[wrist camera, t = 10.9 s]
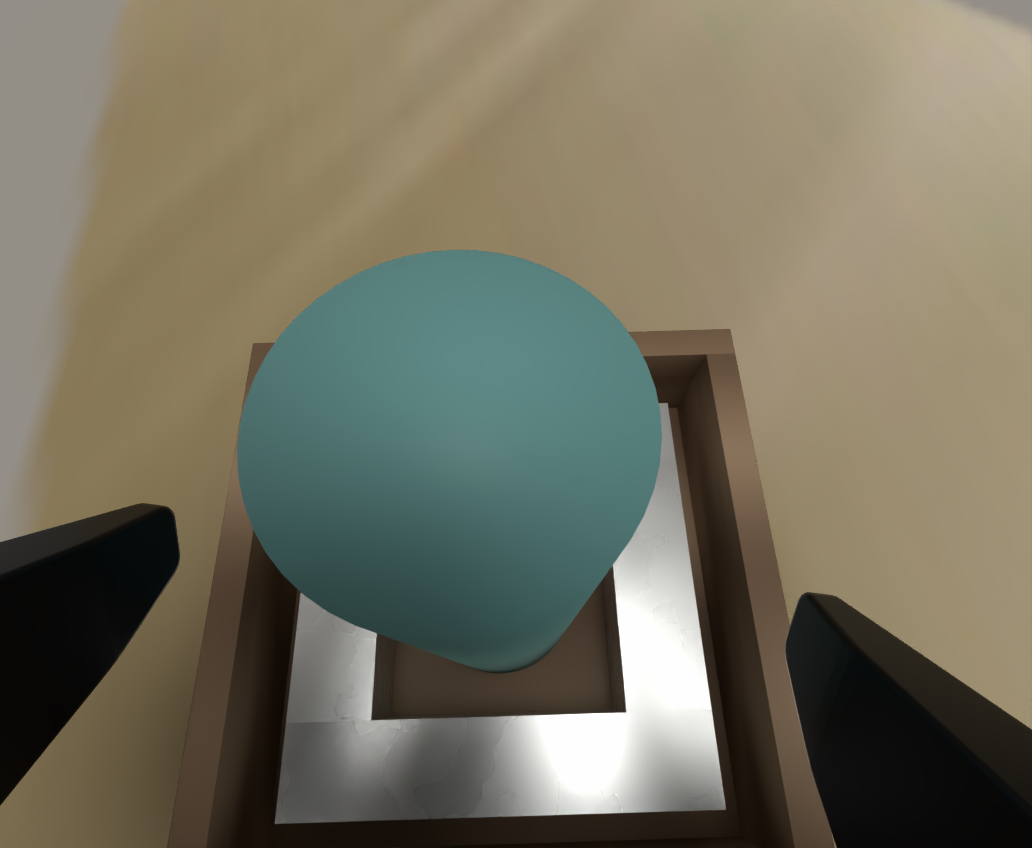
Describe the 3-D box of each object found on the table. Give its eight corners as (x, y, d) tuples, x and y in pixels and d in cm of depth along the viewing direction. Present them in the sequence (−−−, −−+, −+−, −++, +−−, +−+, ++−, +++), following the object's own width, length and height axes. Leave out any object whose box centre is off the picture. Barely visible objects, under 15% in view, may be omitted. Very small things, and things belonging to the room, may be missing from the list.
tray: (764, 863, 16) (850, 924, 12) (247, 879, 16) (150, 946, 12) (690, 398, 21) (729, 328, 17) (305, 410, 21) (253, 343, 17)
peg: (573, 671, 17) (690, 633, 5) (430, 675, 17) (203, 649, 5) (564, 530, 18) (637, 244, 7) (434, 534, 18) (268, 256, 7)
